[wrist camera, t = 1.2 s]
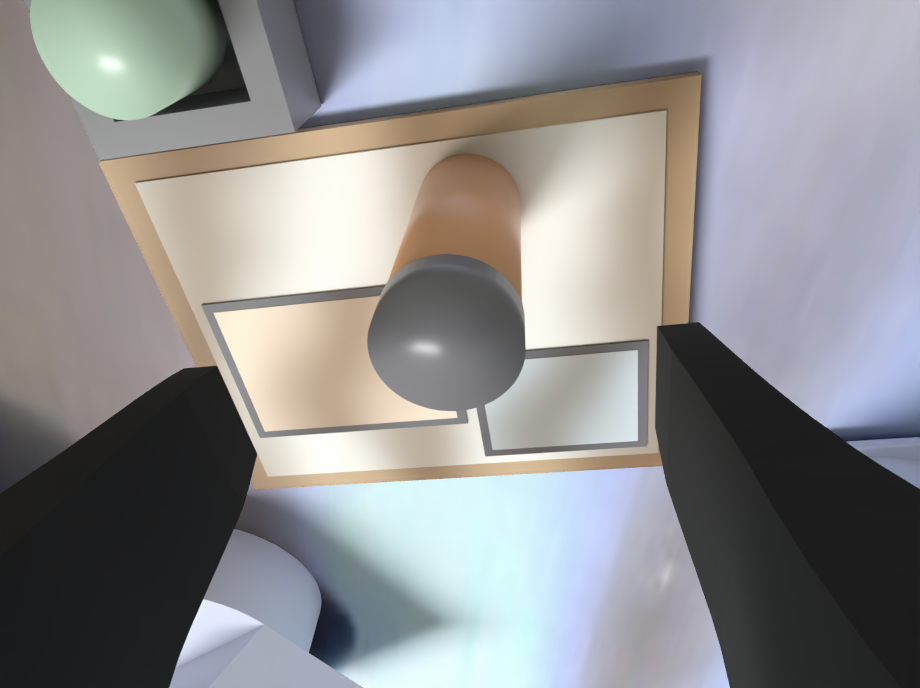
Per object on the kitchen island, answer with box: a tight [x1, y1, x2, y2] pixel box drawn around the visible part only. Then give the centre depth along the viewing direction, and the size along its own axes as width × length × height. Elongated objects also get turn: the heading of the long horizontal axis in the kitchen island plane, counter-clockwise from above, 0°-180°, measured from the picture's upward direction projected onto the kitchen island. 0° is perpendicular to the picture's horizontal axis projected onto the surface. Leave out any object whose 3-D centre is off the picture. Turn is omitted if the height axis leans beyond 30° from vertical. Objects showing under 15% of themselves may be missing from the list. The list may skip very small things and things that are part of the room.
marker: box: [367, 154, 526, 411], centre depth 14 cm, size 3×3×7 cm
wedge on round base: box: [169, 529, 363, 688], centre depth 27 cm, size 9×7×13 cm
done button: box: [30, 0, 226, 120], centre depth 13 cm, size 3×3×2 cm
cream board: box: [99, 72, 701, 489], centre depth 20 cm, size 16×13×1 cm
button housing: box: [24, 0, 321, 160], centre depth 15 cm, size 5×5×2 cm
